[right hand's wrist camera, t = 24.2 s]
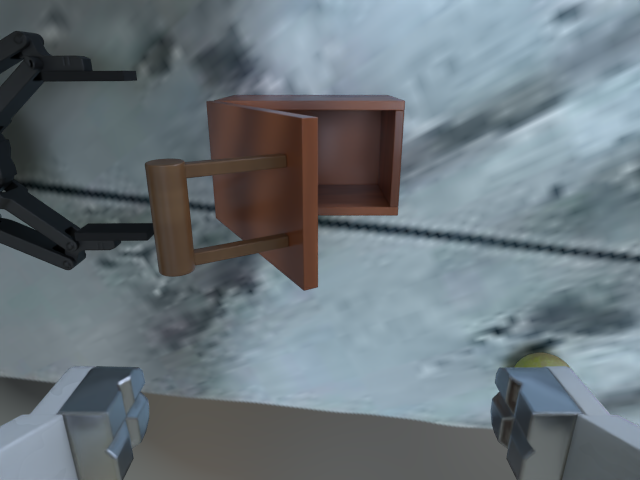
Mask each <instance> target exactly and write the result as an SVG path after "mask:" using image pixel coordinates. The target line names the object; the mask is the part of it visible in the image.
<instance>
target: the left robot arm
mask: <svg viewBox="0 0 640 480" xmlns="http://www.w3.org/2000/svg"><path fill="white" fill-rule="evenodd" d="M43 45H44V40H43V38H42V37H41V36H40V35H39V34H35V33H29V32H20V31H15V32H13V33H11V34H9V35H8V36H6V37H5V38H3V39H2V40H0V73H2V72H4V71H5V70H7V69H9V68H10V67H12V66H13V65H15V64H17V63H18V62H20V61H22V60H23V59H24V60H23V62H22V63H21V64H20V65H19V66H18V67H17V68H16V70H15V71H14V72H13V73H12V74H11V75H10V76H9V78H8V79H7V80H6V81H5V82H4V83H3V84H2V86H1V87H0V209H5V210H7V211H8V212H10V213H11V214H13V215H14V216H16V217H17V218H19V219H20V220H22V221H23V222H25V223H26V224H28V225H29V226H31V227H32V228H34V229H35V230H34V229H32V228H30V227H27V226H25V225H22V224H20V223H18V222H15V221H12V220H9V219H5V218H1V217H2V216H1V214H0V243H2V244H4V245H7V246H9V247H11V248H14V249H16V250H19V251H21V252H24V253H26V254H28V255H31V256H33V257H36V258H38V259H41V260H43V261H46V262H48V263H50V264H53V265H55V266H58V267H60V268H63V269H65V270H71V269H72V268H74V267H75V266H76V265H77V264H79V263H80V262H81V261H82V260H84V259H85V257H86V253H85V250H111V249H114V248H115V247H117V246H118V245H119V244H120V243H121V241H138V240H149V239H150V238H151V237H152V236H153V235H154V230H153V223H111V224H87V225H86V226H84V227H83V228H81V229H80V228H79V227H77V226H76V225H75V224H73V223H72V222H70V221H69V220H67V219H66V218H64V217H63V216H61V215H60V214H59V213H57V212H56V211H54V210H53V209H51V208H50V207H48V206H47V205H45V204H44V203H43V202H41V201H40V200H38V199H37V198H35V197H34V196H32V195H31V194H29V193H28V189H27V188H26V187H24V186H23V185H22V184H20V183H19V182H17V181H16V180H14V175H16V174H17V172H16V168H15V165H14V163H13V161H12V159H11V147H10V143H9V140H6V139H5V138H4V136H3V135H2V134H1V133H2V131H3V130H4V129H5V128H6V127H7V126H8V125H9V124H10V123H11V121H12V120H11V118H12V117H13V116H14V115H15V114H16V113H17V111H18V110H19V109H20V108H21V107H22V106H23V105H24V104H25V103H26V101H27V100H28V99H29V98H30V97H31V96H32V95H33V94H34V93H35V92H36V90H37V89H38V88H39V87H40V86H41V85H42V84H43V83H44V82H45V81H133V80H137V77H136V71H92V65H91V59H89V58H87V57H84V56H52V55H50V54H49V53H48V52H47V51H46V50H45V48H44V46H43ZM3 190H5V191H6V192H2V191H3Z"/></svg>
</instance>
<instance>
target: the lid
mask: <svg viewBox="0 0 640 480" xmlns="http://www.w3.org/2000/svg"><path fill="white" fill-rule="evenodd" d="M207 114H208V126H209V139H210V151H211V160H203V161H192V162H184V161H183V160H180V159H158V160H152V161H148V162H146V163H145V170H146V177H147V185H148V192H149V200H150V207H151V215H152V222H153V230H154V237H155V245H156V252H157V260H158V267H159V272H160V274H162V275H164V276H171V277H174V276H182V275H186V274H189V273H191V272H192V271H194V269H195V265H200V264H205V263H210V262H215V261H220V260H225V259H230V258H235V257H240V256H245V255H250V254H255V253H259V254H260V255H262V256H263V257H264V258H265V259H266V260H268V261H269V262H270V263H271V264H272V265H274V266H275V267H276V268H277V269H278V270H280V271H281V272H282V273H283V274H284V275H286V276H287V277H288V278H289V279H291V280H292V281H293V282H294V283H295V284H297V285H298V286H299V287H300V288H301V289H303V290H304V291H305V290H309V289H313V288H316V287H318V117H313V116H307V115H301V114H295V113H289V112H283V111H276V110H270V109H264V108H258V107H252V106H246V105H240V104H234V103H228V102H222V101H207ZM211 175H213V187H214V199H215V212H216V218H217V219H218V220H219V221H220V222H222V223H223V224H224V225H225V226H226V227H228V228H229V229H230V230H231V231H233V232H234V233H235V234H236V235H237V236H239V237H240V238H241V239H242V240H243V241H238V242H232V243H227V244H221V245H216V246H210V247H205V248H200V249H194V248H193V238H192V228H191V219H190V209H189V199H188V189H187V180H186V178H193V177H202V176H211Z"/></svg>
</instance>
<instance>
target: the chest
mask: <svg viewBox="0 0 640 480" xmlns="http://www.w3.org/2000/svg"><path fill="white" fill-rule="evenodd" d="M215 101H222V102H228V103H234V104H240V105H246V106H252V107H258V108H264V109H270V110H276V111H283V112H289V113H295V114H301V115H307V116H313V117H318V215H398V202H399V186H400V170H401V154H402V138H403V122H404V107H405V101H404V100H401V99H398V98H395V97H392V96H389V95H233V96H229V97H226V98H222V99H218V100H215Z"/></svg>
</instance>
